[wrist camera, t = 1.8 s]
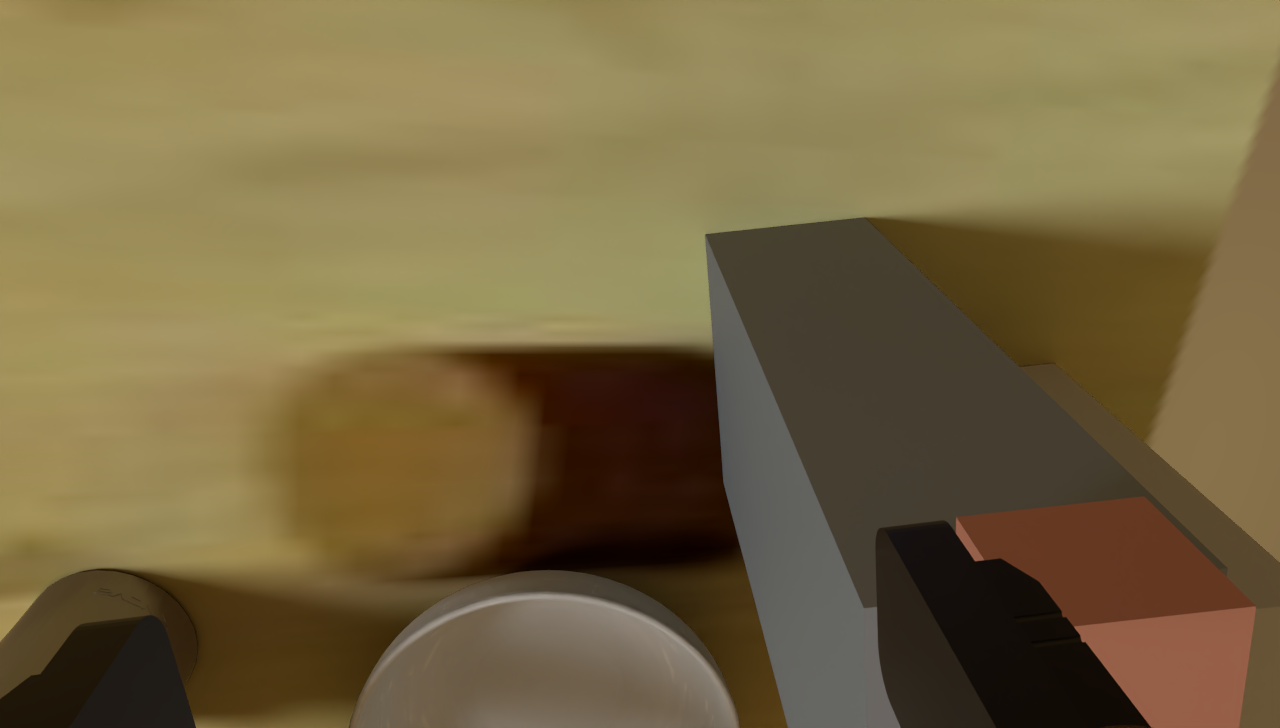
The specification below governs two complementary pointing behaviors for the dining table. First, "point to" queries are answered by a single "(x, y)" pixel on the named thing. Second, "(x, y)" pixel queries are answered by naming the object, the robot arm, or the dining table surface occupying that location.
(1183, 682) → the bar
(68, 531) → the dining table surface
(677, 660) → the serving bowl
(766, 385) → the stand
